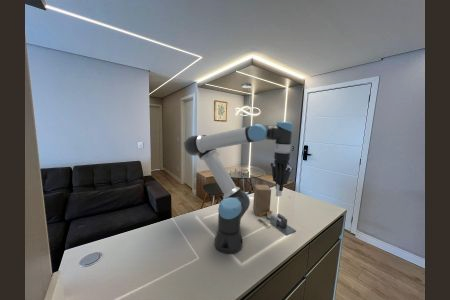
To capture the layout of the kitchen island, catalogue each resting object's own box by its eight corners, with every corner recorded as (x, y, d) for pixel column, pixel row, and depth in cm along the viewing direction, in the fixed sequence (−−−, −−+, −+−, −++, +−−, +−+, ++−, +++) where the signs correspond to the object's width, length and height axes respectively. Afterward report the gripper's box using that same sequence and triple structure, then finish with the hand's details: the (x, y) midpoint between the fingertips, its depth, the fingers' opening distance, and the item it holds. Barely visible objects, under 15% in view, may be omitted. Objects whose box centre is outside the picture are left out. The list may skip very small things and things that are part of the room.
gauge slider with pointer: (273, 231, 99) (274, 223, 98) (256, 219, 112) (257, 211, 111) (286, 226, 105) (287, 218, 104) (269, 215, 118) (269, 208, 117)
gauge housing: (279, 238, 95) (280, 229, 94) (256, 220, 112) (257, 213, 111) (295, 231, 101) (296, 223, 101) (271, 216, 119) (272, 209, 118)
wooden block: (269, 216, 117) (271, 189, 115) (255, 216, 117) (256, 189, 115) (265, 209, 127) (267, 184, 125) (252, 209, 127) (254, 184, 125)
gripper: (298, 153, 82) (293, 199, 85) (277, 150, 93) (274, 190, 96) (287, 154, 78) (283, 202, 81) (267, 150, 89) (264, 192, 92)
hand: (278, 195), depth 89 cm, fingers closed
